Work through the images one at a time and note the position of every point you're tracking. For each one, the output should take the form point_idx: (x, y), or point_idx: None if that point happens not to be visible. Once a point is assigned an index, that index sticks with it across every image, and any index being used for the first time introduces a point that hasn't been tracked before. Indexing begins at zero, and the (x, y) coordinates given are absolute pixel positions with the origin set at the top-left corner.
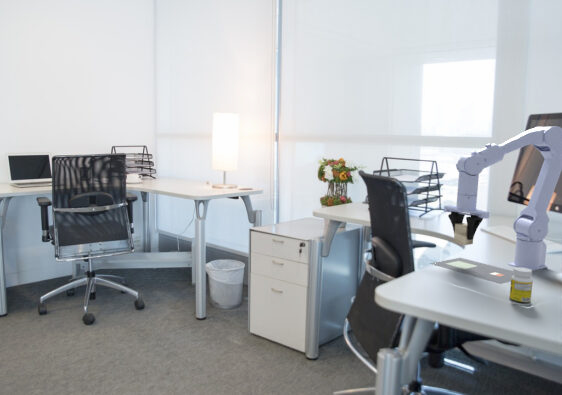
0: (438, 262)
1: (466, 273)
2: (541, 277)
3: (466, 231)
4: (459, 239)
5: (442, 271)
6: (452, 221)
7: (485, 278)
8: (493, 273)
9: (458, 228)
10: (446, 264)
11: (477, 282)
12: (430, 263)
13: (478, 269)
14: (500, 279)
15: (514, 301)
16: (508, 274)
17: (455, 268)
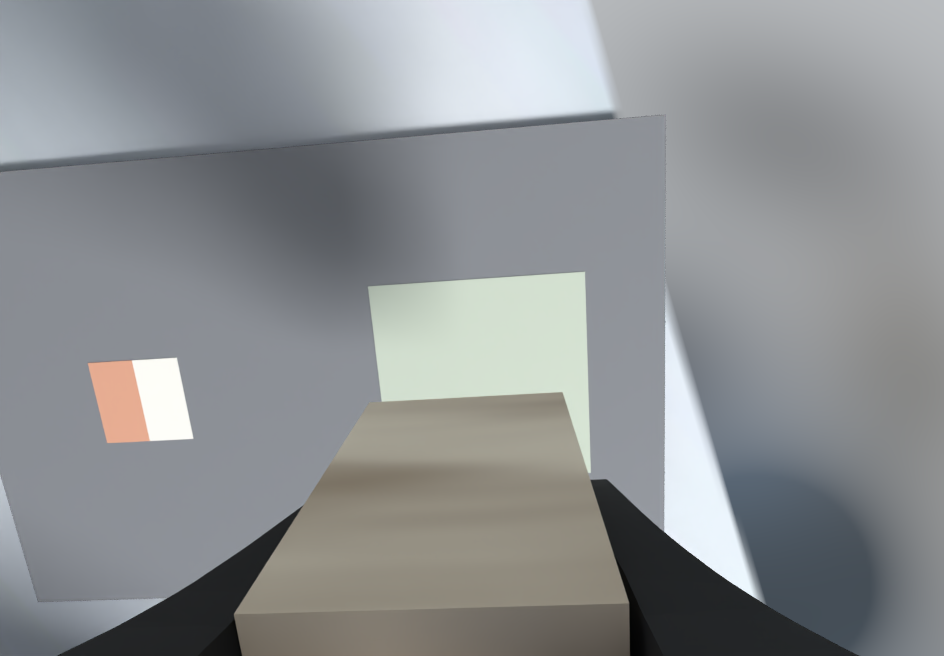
0: (646, 243)
1: (244, 167)
2: (17, 642)
3: (299, 535)
4: (460, 422)
5: (415, 29)
6: (767, 649)
7: (69, 193)
8: (168, 394)
9: (499, 533)
10: (554, 256)
11: (26, 42)
12: (660, 127)
13: (308, 389)
14: (14, 290)
15: None
16: (113, 482)
17: (413, 218)
